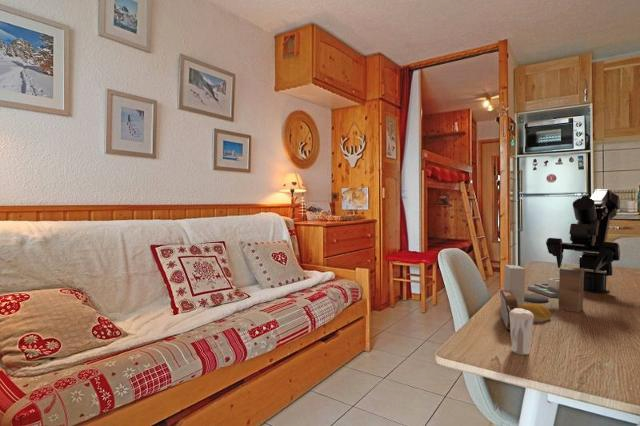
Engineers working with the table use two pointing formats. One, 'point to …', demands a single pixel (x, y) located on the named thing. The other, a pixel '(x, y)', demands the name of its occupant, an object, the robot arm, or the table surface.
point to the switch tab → (553, 283)
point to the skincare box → (515, 281)
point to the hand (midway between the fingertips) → (575, 269)
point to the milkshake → (520, 330)
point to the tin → (506, 301)
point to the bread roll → (537, 311)
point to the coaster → (535, 298)
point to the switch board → (544, 289)
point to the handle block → (571, 289)
